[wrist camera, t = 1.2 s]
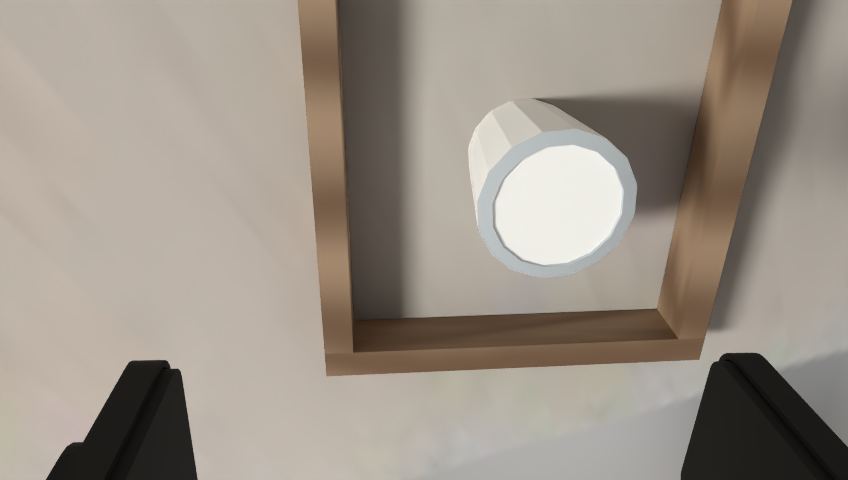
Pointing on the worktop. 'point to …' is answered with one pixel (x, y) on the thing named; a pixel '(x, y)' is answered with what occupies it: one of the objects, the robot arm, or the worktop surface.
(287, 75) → the worktop surface
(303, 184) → the worktop surface
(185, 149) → the worktop surface
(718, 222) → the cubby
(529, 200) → the white cup
